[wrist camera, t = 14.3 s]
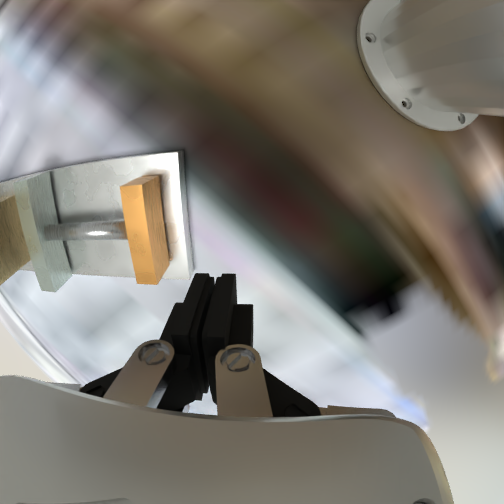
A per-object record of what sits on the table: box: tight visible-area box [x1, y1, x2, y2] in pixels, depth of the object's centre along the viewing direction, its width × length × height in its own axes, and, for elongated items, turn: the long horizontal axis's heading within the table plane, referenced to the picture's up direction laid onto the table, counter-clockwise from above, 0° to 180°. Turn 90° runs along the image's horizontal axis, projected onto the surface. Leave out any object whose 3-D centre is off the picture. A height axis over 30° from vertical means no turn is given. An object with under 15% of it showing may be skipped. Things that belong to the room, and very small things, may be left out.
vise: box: [0, 151, 194, 280], centre depth 20 cm, size 27×10×4 cm, turn 91°
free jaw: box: [13, 172, 170, 292], centre depth 19 cm, size 13×10×3 cm
